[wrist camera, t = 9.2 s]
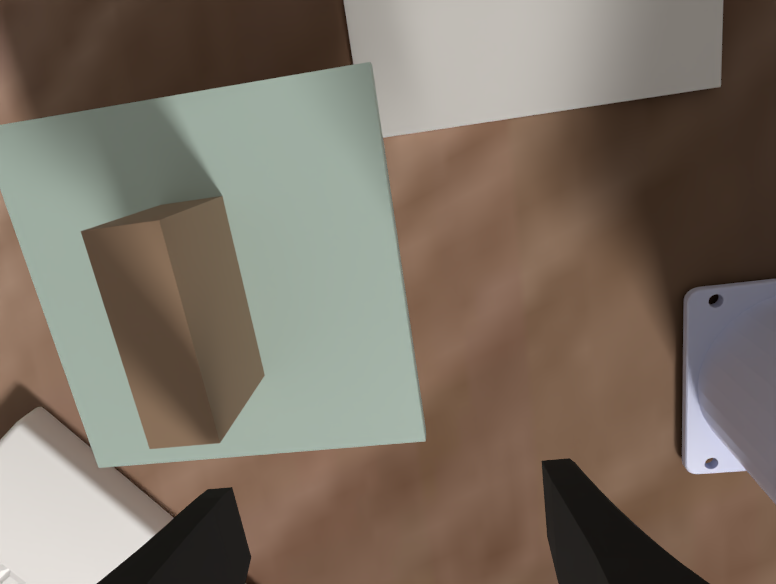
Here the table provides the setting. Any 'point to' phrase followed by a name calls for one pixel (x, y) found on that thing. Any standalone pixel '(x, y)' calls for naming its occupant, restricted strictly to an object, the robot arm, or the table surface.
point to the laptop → (65, 508)
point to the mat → (528, 55)
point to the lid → (221, 269)
